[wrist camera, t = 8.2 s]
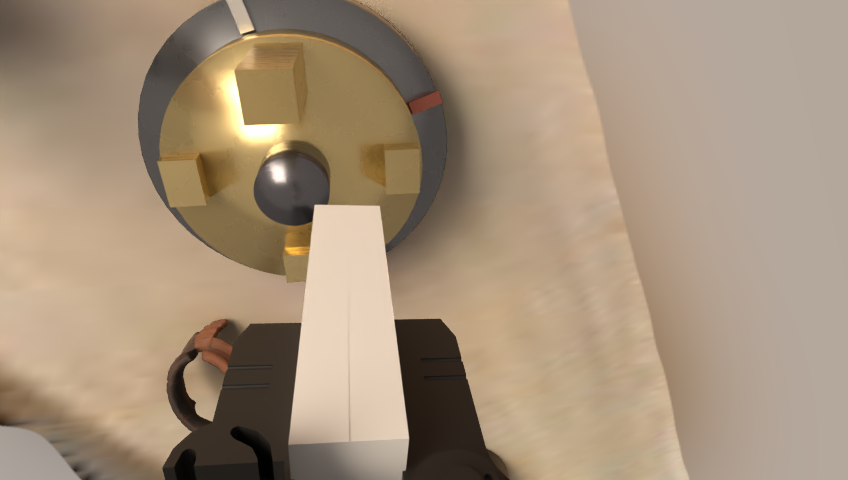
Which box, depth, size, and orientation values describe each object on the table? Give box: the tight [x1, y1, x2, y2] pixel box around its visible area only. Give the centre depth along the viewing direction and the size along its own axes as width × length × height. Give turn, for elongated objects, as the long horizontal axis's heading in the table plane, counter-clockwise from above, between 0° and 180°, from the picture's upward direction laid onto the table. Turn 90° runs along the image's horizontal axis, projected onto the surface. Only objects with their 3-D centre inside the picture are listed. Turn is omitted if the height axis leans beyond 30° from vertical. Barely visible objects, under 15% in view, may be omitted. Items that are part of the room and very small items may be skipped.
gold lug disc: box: [157, 29, 422, 282], centre depth 29 cm, size 15×15×9 cm
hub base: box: [138, 0, 447, 264], centre depth 32 cm, size 19×19×9 cm
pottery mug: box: [167, 320, 233, 432], centre depth 43 cm, size 12×10×8 cm
